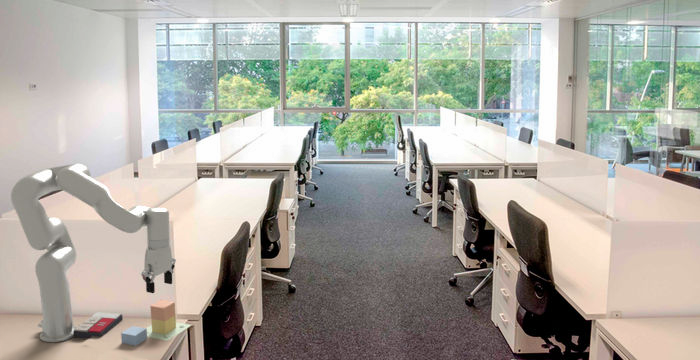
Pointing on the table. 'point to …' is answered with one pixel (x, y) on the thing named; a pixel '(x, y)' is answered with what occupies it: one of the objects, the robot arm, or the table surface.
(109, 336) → the table surface
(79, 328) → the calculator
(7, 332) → the table surface
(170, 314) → the terracotta brick
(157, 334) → the build plate
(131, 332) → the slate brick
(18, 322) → the table surface
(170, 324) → the ochre brick
